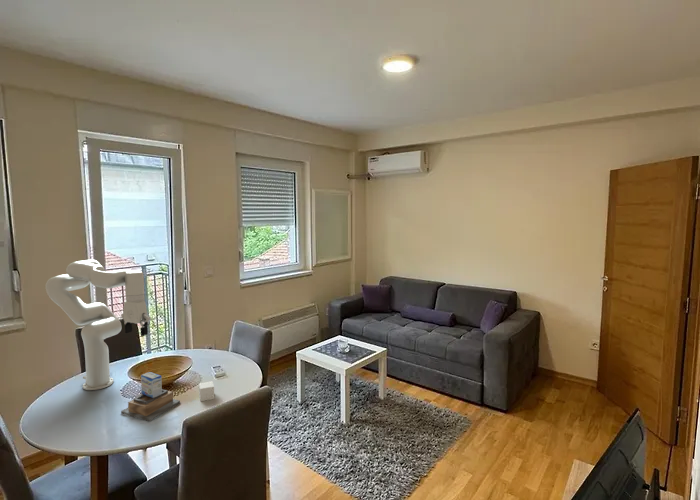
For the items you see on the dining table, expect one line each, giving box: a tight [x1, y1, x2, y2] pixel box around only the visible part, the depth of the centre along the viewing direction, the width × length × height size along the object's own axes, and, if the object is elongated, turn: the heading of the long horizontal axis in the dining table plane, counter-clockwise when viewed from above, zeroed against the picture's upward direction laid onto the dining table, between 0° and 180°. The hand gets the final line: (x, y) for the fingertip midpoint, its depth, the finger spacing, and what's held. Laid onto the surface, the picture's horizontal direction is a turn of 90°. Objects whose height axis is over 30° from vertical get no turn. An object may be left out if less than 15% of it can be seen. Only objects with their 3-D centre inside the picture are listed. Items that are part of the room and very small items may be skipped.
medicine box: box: [140, 371, 163, 398], centre depth 162 cm, size 8×4×9 cm, turn 62°
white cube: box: [198, 380, 215, 402], centre depth 174 cm, size 6×6×6 cm
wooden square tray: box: [120, 388, 181, 422], centre depth 163 cm, size 16×16×6 cm
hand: (136, 333), depth 175 cm, fingers open, 9 cm apart
